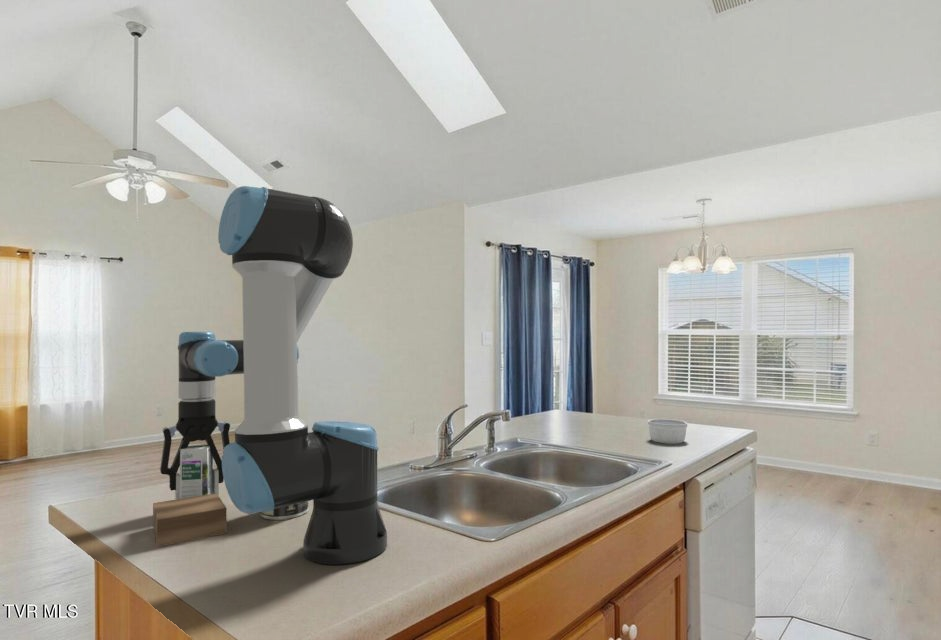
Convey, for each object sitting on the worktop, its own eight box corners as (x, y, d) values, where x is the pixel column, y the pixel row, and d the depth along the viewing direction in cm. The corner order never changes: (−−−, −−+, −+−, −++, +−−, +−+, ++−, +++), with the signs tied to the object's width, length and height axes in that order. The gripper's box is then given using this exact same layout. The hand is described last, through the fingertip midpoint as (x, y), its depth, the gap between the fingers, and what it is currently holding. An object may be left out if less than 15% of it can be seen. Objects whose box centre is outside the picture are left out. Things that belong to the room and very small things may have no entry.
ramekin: (685, 438, 199) (685, 419, 199) (689, 445, 186) (689, 425, 186) (647, 436, 202) (647, 418, 202) (648, 443, 190) (648, 423, 190)
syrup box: (179, 515, 119) (179, 449, 119) (187, 506, 125) (187, 443, 125) (207, 513, 120) (207, 447, 121) (213, 504, 126) (213, 442, 126)
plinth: (226, 532, 108) (226, 507, 109) (157, 546, 102) (157, 519, 102) (216, 516, 118) (216, 493, 119) (153, 527, 112) (153, 503, 112)
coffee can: (317, 506, 125) (316, 444, 125) (293, 521, 115) (293, 454, 115) (276, 503, 127) (276, 443, 127) (250, 518, 117) (250, 453, 117)
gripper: (240, 394, 132) (240, 489, 131) (144, 401, 121) (144, 504, 120) (247, 397, 126) (247, 497, 125) (146, 404, 114) (146, 514, 114)
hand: (197, 500), depth 123 cm, fingers closed on syrup box, 7 cm apart
